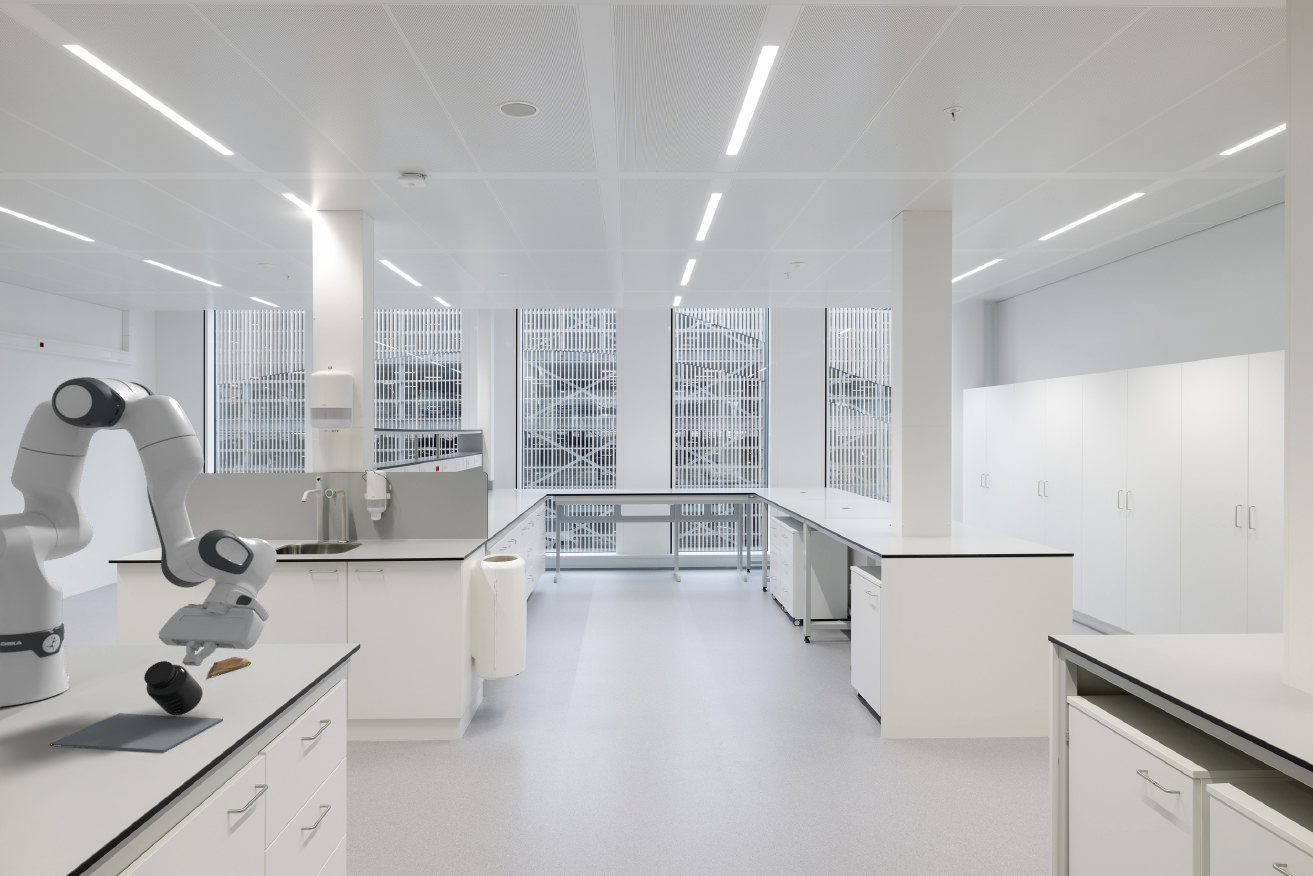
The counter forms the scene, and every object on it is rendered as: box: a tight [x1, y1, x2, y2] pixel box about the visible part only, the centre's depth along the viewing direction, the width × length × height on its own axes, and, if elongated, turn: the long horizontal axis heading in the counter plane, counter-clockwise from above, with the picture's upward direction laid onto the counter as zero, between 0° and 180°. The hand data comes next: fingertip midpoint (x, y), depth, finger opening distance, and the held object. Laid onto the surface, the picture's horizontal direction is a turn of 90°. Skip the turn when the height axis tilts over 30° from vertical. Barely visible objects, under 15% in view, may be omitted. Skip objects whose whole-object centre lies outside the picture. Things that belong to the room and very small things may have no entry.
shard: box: [209, 656, 252, 678], centre depth 162 cm, size 11×8×2 cm
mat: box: [49, 712, 224, 753], centre depth 125 cm, size 22×14×1 cm, turn 85°
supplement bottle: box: [143, 660, 203, 716], centre depth 131 cm, size 7×7×12 cm
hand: (190, 664), depth 137 cm, fingers closed
